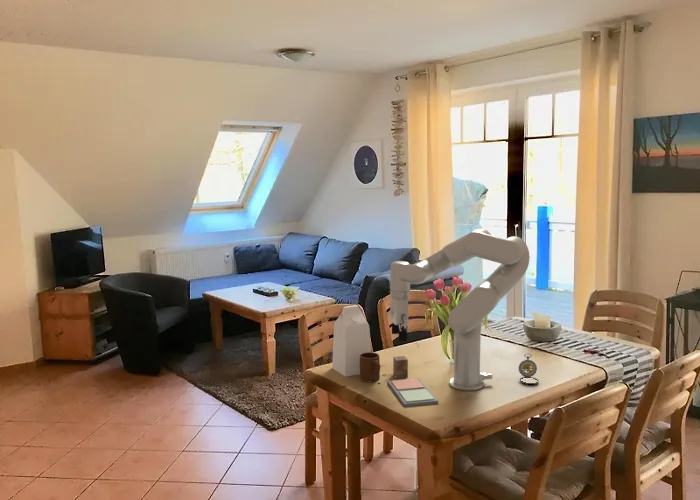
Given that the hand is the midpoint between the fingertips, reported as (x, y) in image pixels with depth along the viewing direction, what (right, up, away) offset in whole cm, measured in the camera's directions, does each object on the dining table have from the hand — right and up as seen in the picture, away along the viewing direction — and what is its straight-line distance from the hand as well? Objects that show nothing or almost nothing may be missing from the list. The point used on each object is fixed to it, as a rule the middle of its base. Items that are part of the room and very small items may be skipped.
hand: (399, 337), depth 227 cm
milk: (-18, -15, +9) cm, 25 cm away
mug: (-10, -16, -3) cm, 20 cm away
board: (+3, -18, -16) cm, 24 cm away
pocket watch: (+48, -16, -6) cm, 51 cm away
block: (+1, -15, +2) cm, 15 cm away
